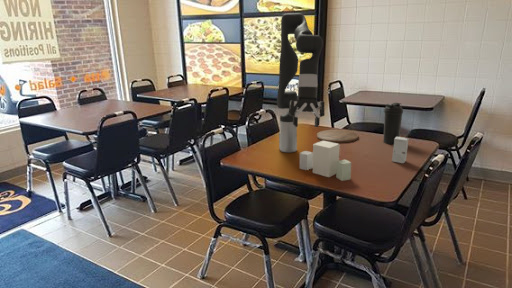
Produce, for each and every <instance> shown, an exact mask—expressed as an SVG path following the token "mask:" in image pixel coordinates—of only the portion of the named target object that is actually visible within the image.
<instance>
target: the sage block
mask: <svg viewBox="0 0 512 288" xmlns="http://www.w3.org/2000/svg"><path fill="white" fill-rule="evenodd" d="M335 175H336V176H335V177H336V179H338V180H340V181H341V182H343V181H349V180H351V177H352V162H351V161H350V160H348V159H339V161H337V171H336V174H335Z"/></svg>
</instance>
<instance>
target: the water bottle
mask: <svg viewBox="0 0 512 288" xmlns="http://www.w3.org/2000/svg"><path fill="white" fill-rule="evenodd" d="M383 112H384V116H383V118H384V120H383V143H384V144H387V145H394V139H395V138H396V137H401V136H400V135H401V127H402V117H403V114H404V109H403V107H402V106H401V103H399V102H393V103H387V104H386V105H385V107H384V109H383Z"/></svg>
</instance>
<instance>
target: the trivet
mask: <svg viewBox="0 0 512 288" xmlns="http://www.w3.org/2000/svg"><path fill="white" fill-rule="evenodd" d="M316 138H317V140H319V141H328V142H333V143H337V144H347V143H353V142H356V141H357V140H358V139H359V135H358V133H356V132H355V131H350V130H345V129H328V130H325V129H324V130H320V131H319V132H317V133H316Z"/></svg>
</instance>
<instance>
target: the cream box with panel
mask: <svg viewBox="0 0 512 288" xmlns="http://www.w3.org/2000/svg"><path fill="white" fill-rule="evenodd" d="M339 145H340V143H333V142H328V141H321V140H319V141H317V142H315V143H313V144H312V152H313V168H312V173H313V174H315V175H319V176H323V177H326V178H330V177H332V176H335V175H336V171H337V161H339V160H340V158H339Z"/></svg>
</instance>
